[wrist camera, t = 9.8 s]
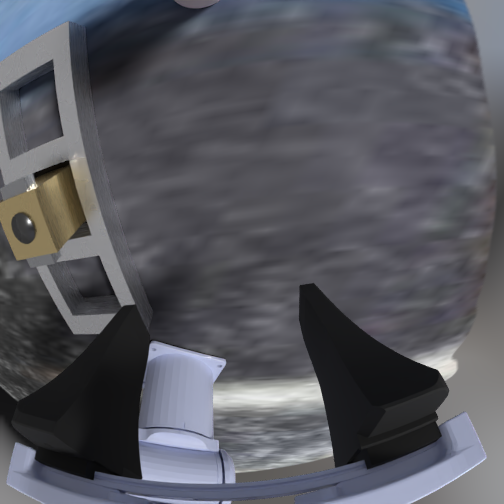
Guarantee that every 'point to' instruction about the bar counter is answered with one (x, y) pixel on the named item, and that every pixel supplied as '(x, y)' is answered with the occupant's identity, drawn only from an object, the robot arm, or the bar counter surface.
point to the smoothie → (196, 3)
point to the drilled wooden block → (41, 215)
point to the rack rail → (84, 172)
